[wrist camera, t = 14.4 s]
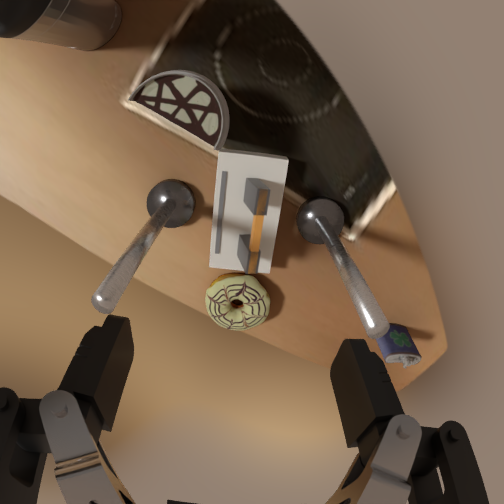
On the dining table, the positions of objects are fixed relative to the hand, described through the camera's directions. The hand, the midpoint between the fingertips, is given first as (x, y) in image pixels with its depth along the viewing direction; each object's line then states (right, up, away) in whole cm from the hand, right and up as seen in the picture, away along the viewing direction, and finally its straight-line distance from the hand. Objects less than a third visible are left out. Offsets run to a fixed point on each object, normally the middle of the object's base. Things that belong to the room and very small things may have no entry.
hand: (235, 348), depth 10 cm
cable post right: (+11, +8, +33) cm, 36 cm away
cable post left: (-11, +11, +32) cm, 36 cm away
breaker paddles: (0, +8, +30) cm, 31 cm away
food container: (-6, +24, +25) cm, 35 cm away
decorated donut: (-2, -4, +40) cm, 40 cm away
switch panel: (0, +10, +33) cm, 34 cm away
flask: (+29, -12, +45) cm, 54 cm away
